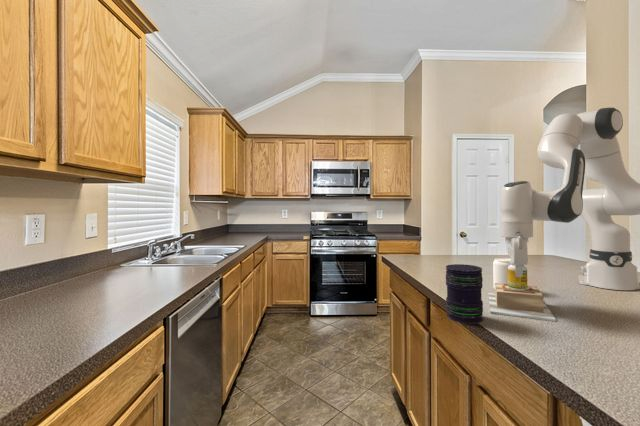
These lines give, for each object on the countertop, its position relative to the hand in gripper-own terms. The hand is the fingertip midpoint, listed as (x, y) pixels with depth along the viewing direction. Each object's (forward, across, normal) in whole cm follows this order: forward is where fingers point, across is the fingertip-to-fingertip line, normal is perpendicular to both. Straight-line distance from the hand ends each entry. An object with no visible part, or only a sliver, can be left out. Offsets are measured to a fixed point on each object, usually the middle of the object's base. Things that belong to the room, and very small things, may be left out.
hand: (517, 273), depth 98 cm
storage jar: (+11, -18, +15) cm, 26 cm away
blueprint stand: (+11, 0, 0) cm, 11 cm away
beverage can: (+11, +19, +2) cm, 22 cm away
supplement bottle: (+5, 0, 0) cm, 5 cm away
